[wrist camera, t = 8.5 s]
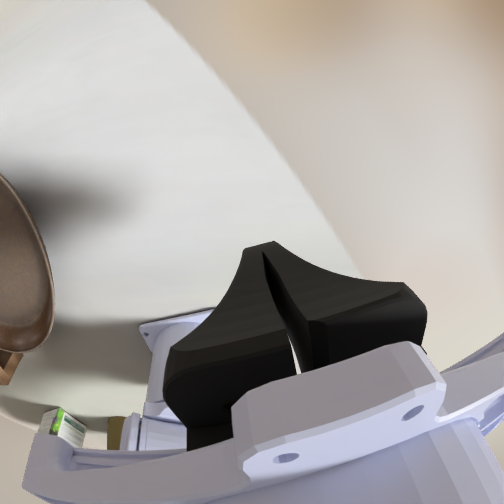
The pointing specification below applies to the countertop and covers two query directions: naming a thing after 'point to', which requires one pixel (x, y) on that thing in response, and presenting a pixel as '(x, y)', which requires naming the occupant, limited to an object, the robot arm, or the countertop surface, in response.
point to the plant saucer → (23, 277)
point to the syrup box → (63, 427)
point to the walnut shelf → (8, 365)
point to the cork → (115, 432)
